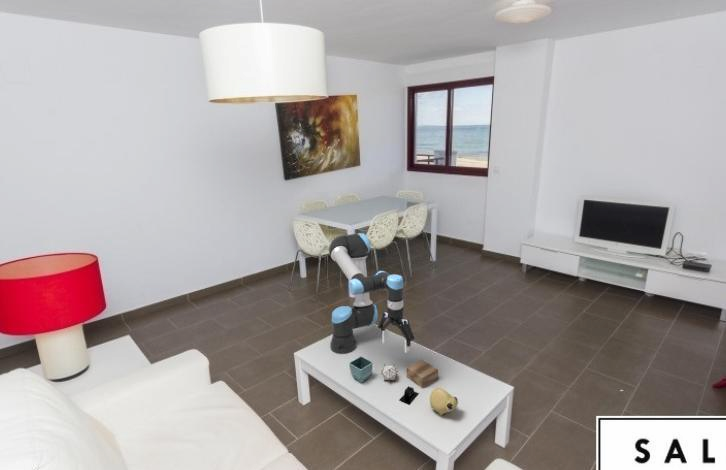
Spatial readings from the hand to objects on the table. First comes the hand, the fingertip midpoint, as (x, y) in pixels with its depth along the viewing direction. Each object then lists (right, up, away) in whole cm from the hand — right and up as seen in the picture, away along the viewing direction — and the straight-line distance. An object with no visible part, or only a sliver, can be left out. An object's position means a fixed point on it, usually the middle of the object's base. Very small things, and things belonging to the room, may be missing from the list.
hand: (395, 346), depth 186 cm
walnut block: (+14, -17, +4) cm, 23 cm away
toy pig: (+19, -23, -18) cm, 35 cm away
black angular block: (+6, -22, -8) cm, 24 cm away
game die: (-3, -18, +4) cm, 19 cm away
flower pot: (-17, -18, +6) cm, 25 cm away
